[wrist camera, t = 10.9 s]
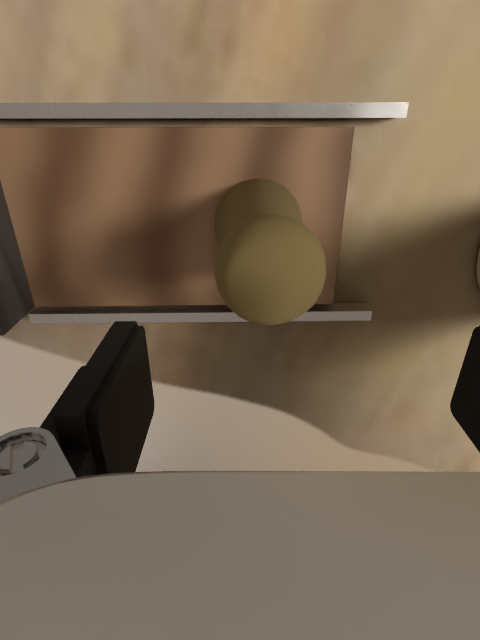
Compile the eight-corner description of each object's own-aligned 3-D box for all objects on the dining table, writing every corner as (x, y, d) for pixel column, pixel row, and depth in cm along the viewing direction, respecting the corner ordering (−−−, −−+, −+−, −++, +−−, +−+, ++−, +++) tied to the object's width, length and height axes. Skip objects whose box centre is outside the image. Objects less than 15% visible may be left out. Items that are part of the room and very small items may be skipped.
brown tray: (349, 126, 25) (378, 127, 20) (329, 297, 30) (348, 332, 25) (-28, 127, 24) (-95, 128, 19) (22, 300, 30) (-20, 335, 25)
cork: (201, 196, 25) (180, 241, 15) (289, 164, 24) (327, 191, 15) (230, 277, 28) (230, 360, 18) (311, 251, 27) (355, 323, 17)
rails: (398, 103, 24) (408, 102, 23) (364, 311, 31) (370, 320, 29) (-17, 104, 24) (-33, 103, 22) (40, 314, 30) (30, 323, 29)
